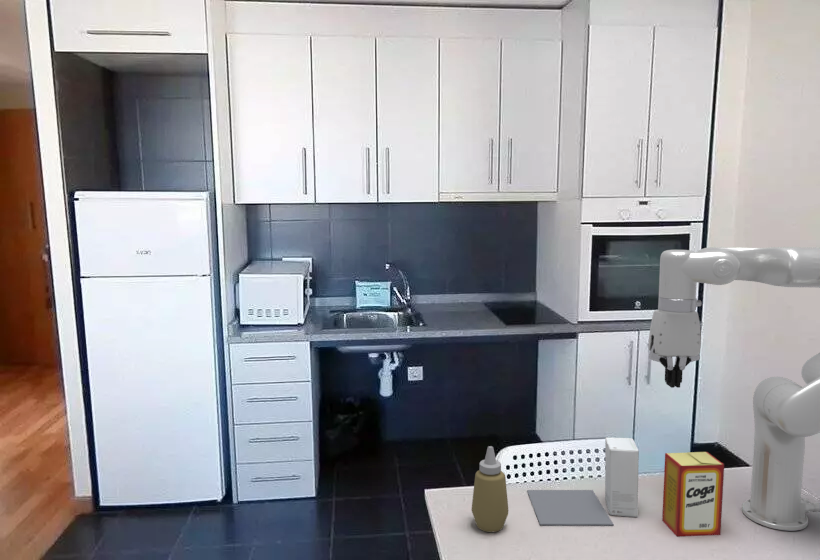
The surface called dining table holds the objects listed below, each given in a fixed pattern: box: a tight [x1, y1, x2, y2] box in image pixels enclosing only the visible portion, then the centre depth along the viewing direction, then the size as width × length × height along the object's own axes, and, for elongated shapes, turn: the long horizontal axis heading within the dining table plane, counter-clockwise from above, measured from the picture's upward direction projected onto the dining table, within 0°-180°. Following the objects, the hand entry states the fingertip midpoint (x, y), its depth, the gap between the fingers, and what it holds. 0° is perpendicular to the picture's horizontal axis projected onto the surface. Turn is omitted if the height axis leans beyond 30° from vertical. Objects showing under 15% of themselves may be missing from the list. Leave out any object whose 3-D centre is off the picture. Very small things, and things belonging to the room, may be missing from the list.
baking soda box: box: [661, 451, 725, 538], centre depth 128 cm, size 10×6×16 cm
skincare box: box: [604, 437, 640, 518], centre depth 137 cm, size 8×7×16 cm
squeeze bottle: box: [471, 445, 509, 533], centre depth 129 cm, size 8×8×18 cm
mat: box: [526, 489, 615, 527], centre depth 138 cm, size 16×16×1 cm
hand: (673, 385), depth 134 cm, fingers closed
